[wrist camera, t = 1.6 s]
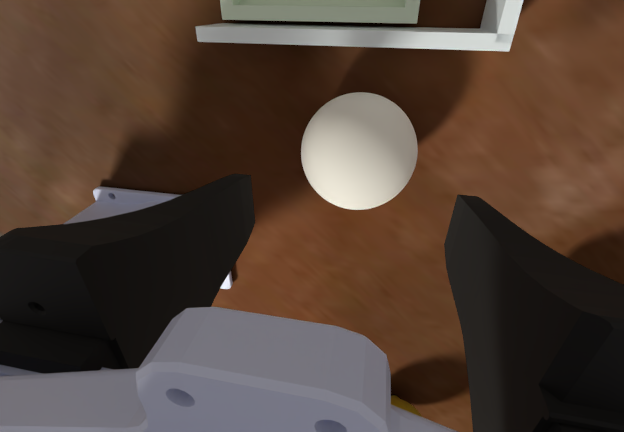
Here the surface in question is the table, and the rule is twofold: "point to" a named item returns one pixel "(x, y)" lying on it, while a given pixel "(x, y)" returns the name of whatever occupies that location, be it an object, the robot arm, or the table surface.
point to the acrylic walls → (379, 33)
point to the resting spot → (322, 10)
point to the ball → (359, 150)
